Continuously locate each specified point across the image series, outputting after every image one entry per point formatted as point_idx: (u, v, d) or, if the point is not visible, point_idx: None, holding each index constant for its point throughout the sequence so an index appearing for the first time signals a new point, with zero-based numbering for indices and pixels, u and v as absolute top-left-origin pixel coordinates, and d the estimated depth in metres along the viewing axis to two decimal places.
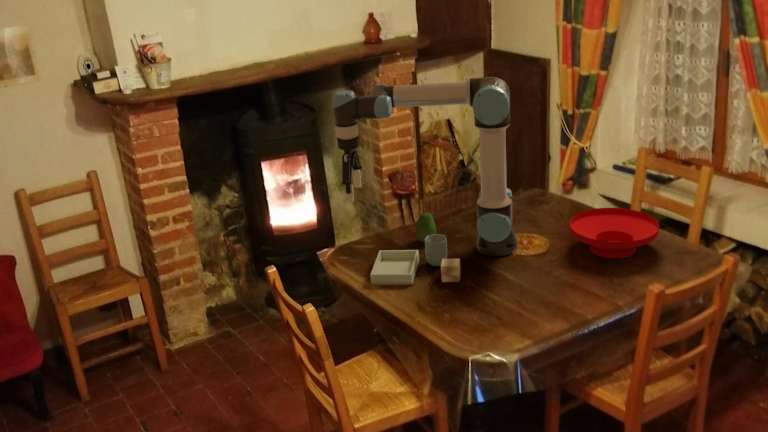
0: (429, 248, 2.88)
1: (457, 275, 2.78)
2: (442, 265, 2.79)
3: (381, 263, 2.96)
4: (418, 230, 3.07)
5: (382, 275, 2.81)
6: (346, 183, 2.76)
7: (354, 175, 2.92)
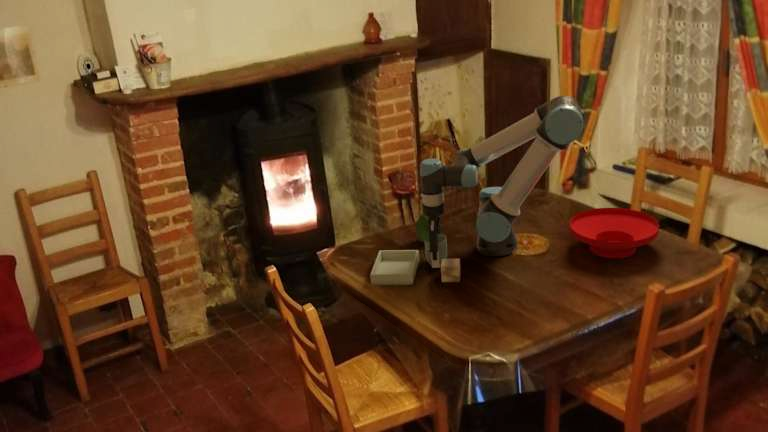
0: (429, 248, 2.88)
1: (457, 275, 2.78)
2: (442, 265, 2.79)
3: (381, 263, 2.96)
4: (418, 230, 3.07)
5: (382, 275, 2.81)
6: (433, 251, 2.84)
7: None
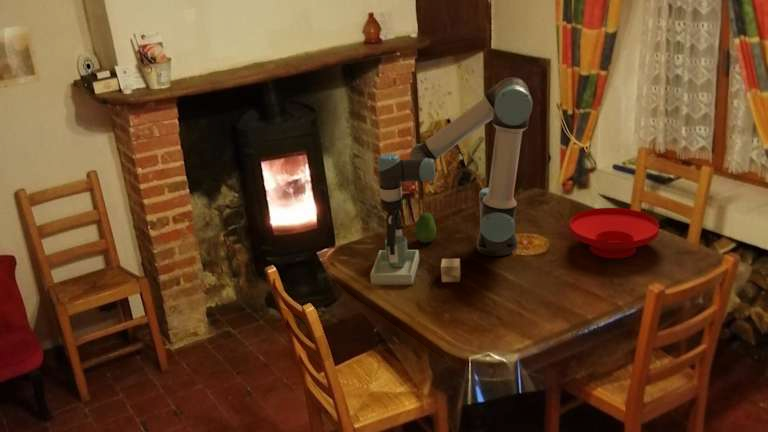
0: None
1: (457, 275, 2.78)
2: (442, 265, 2.79)
3: (381, 263, 2.96)
4: (418, 230, 3.07)
5: (382, 275, 2.81)
6: (391, 245, 2.80)
7: None
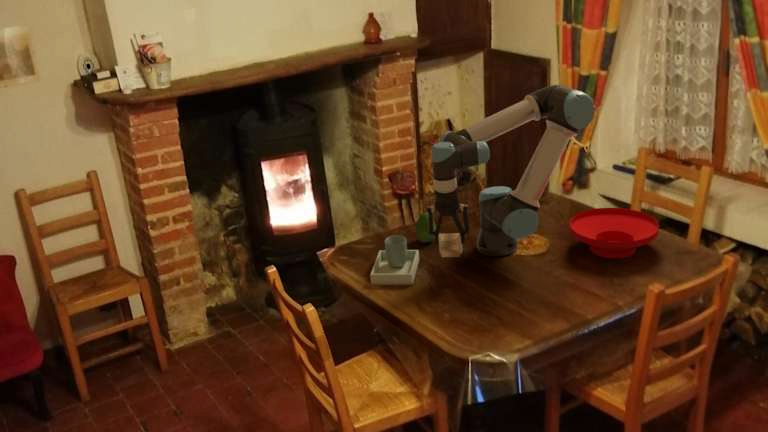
0: (388, 250, 2.88)
1: (457, 250, 2.75)
2: (442, 240, 2.75)
3: (381, 263, 2.96)
4: (418, 230, 3.07)
5: (382, 275, 2.81)
6: None
7: None
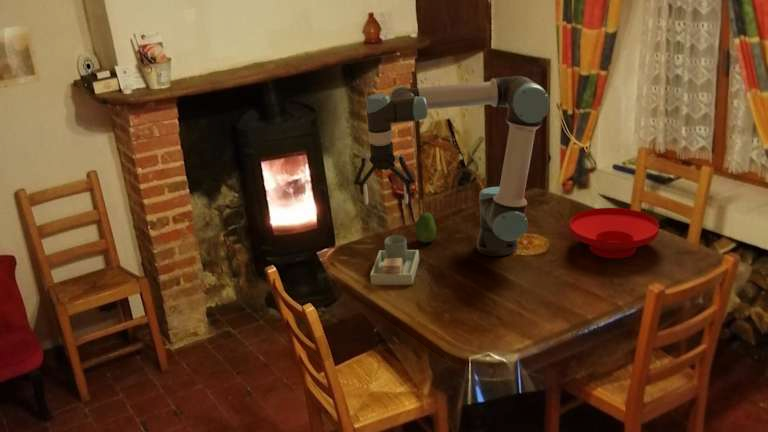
0: (388, 250, 2.88)
1: None
2: (384, 264, 2.81)
3: (381, 263, 2.96)
4: (418, 230, 3.07)
5: (382, 275, 2.81)
6: None
7: None
